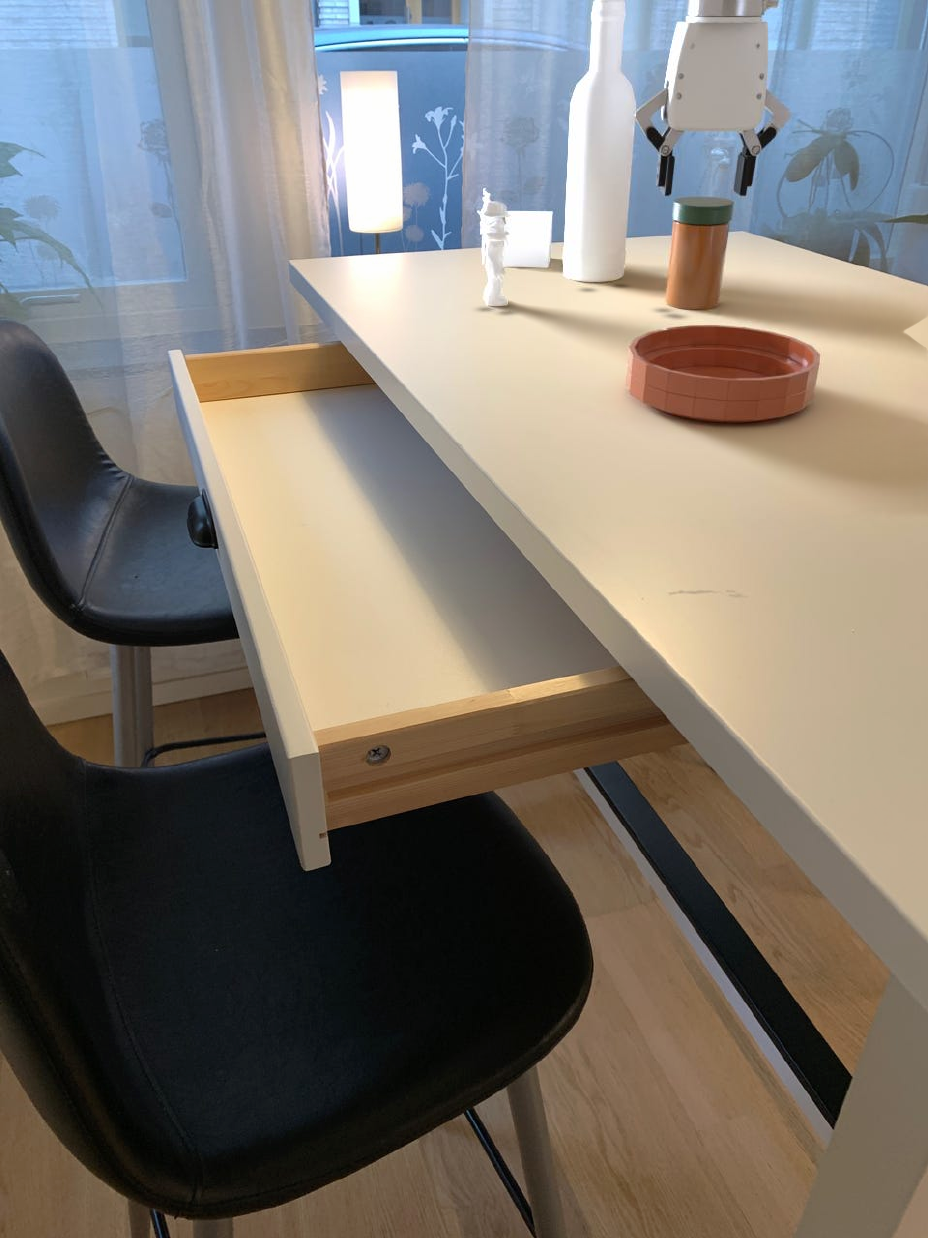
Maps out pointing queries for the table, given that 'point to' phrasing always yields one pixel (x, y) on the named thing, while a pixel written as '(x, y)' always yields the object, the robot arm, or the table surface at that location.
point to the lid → (702, 210)
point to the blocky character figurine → (494, 248)
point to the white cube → (528, 239)
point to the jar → (696, 265)
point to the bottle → (600, 156)
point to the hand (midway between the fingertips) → (702, 192)
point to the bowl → (722, 372)
